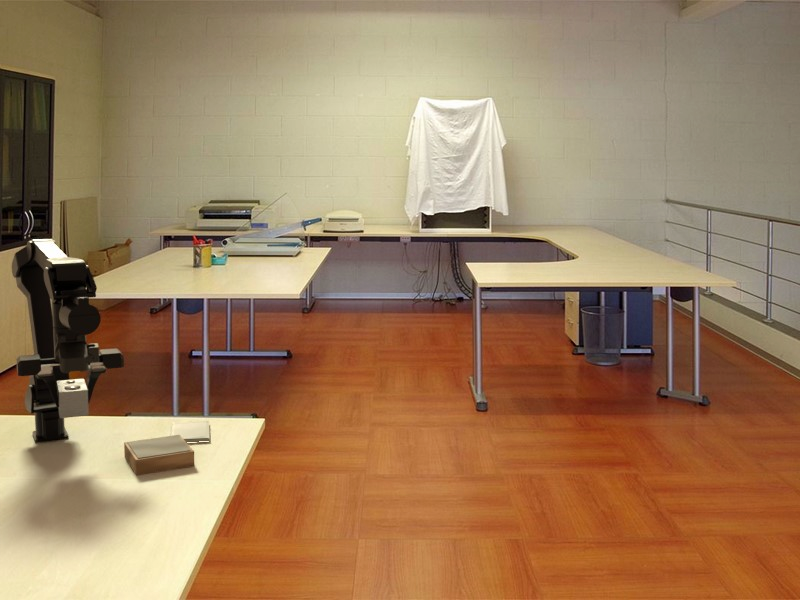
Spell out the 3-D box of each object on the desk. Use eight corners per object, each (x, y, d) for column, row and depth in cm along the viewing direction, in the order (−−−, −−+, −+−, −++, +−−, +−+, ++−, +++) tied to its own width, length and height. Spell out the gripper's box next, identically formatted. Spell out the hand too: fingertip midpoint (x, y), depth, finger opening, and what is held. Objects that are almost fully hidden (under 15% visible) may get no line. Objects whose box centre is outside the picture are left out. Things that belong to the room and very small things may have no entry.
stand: (124, 456, 160) (124, 441, 160) (179, 448, 166) (179, 434, 165) (136, 475, 151) (135, 459, 150) (194, 465, 156) (194, 450, 156)
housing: (57, 405, 158) (56, 379, 157) (84, 402, 160) (83, 377, 160) (60, 418, 150) (59, 391, 149) (88, 415, 152) (87, 388, 152)
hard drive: (209, 437, 170) (209, 419, 182) (169, 439, 168) (171, 421, 180) (209, 445, 170) (209, 426, 182) (169, 447, 168) (171, 428, 180)
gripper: (17, 337, 141) (21, 422, 144) (127, 330, 150) (129, 410, 152) (14, 326, 151) (18, 406, 154) (118, 320, 160) (120, 395, 162)
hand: (72, 405), depth 155 cm, fingers closed on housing, 5 cm apart
